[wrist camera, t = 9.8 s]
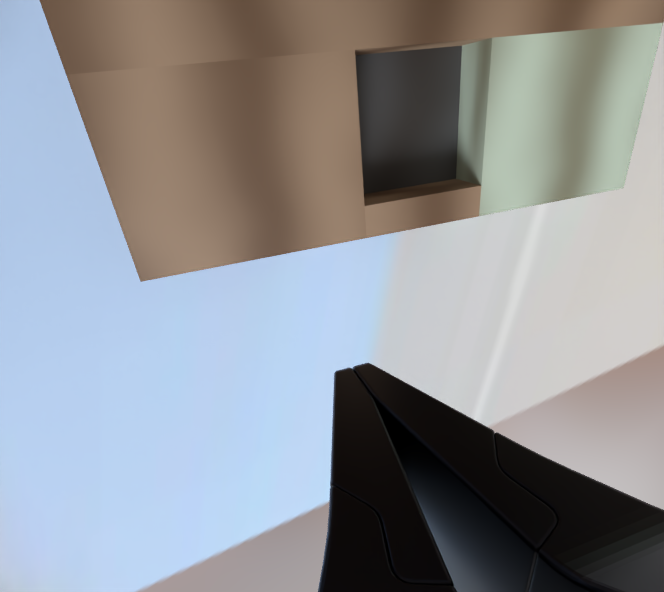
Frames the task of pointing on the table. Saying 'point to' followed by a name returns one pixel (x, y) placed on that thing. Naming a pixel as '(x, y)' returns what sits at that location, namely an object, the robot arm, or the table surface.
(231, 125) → the trap deck
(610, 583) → the robot arm
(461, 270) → the table surface
